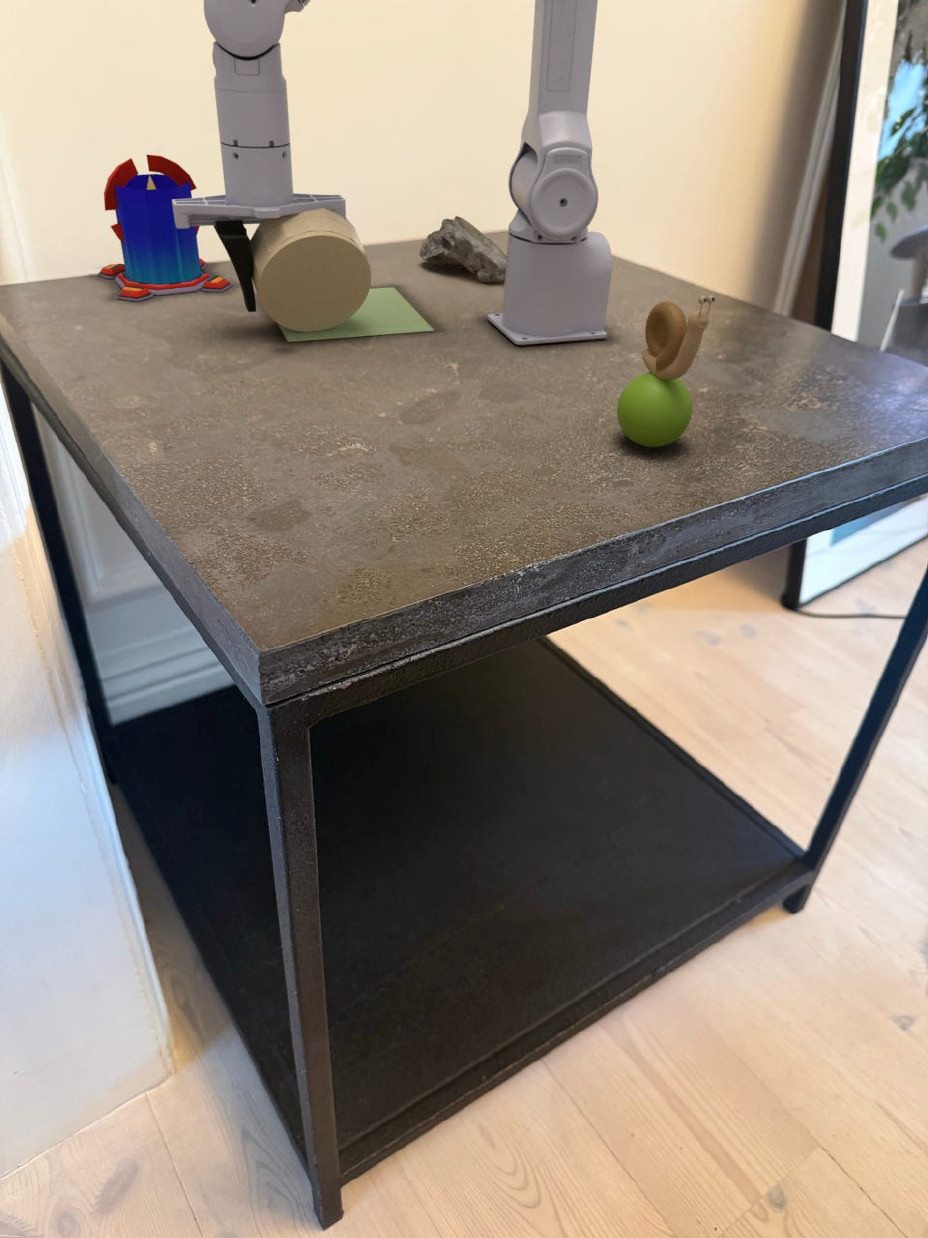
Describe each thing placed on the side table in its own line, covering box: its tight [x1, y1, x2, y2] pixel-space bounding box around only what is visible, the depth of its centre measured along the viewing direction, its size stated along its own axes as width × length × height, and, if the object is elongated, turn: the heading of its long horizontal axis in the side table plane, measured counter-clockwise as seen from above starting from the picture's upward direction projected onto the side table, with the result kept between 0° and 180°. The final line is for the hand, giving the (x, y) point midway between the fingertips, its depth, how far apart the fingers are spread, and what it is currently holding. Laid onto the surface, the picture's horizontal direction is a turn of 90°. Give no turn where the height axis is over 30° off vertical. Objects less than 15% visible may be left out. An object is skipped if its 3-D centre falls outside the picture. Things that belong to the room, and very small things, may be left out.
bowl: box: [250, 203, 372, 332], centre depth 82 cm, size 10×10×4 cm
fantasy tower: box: [97, 154, 233, 303], centre depth 93 cm, size 12×12×12 cm
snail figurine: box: [616, 294, 716, 448], centre depth 65 cm, size 5×6×12 cm
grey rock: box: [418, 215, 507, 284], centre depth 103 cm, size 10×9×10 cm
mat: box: [277, 286, 435, 343], centre depth 90 cm, size 14×14×1 cm
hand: (269, 307), depth 84 cm, fingers closed on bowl, 3 cm apart
